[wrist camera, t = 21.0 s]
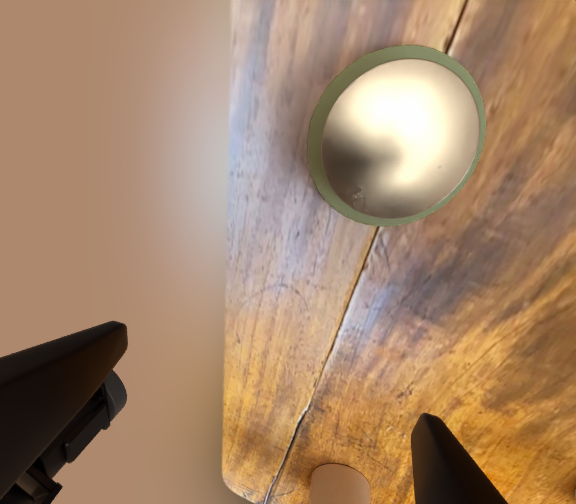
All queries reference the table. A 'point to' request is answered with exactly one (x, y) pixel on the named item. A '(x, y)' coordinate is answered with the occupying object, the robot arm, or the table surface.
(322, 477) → the jam jar
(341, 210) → the coaster
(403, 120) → the jam lid
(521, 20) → the table surface
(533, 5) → the table surface
